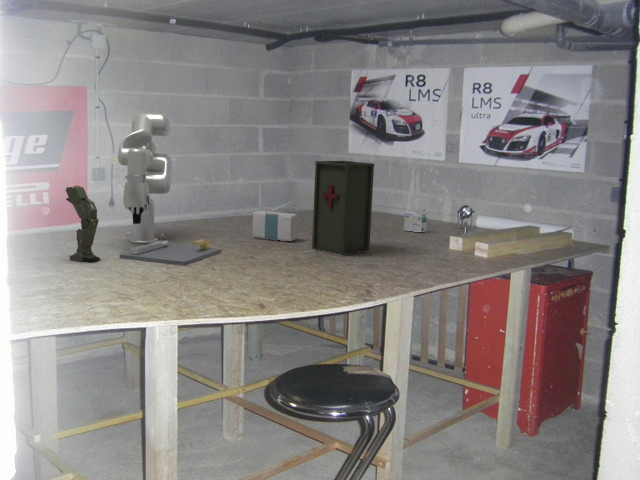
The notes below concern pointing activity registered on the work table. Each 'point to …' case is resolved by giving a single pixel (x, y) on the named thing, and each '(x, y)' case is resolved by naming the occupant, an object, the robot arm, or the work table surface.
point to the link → (150, 246)
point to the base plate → (173, 254)
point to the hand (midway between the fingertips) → (136, 223)
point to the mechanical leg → (84, 224)
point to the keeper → (203, 243)
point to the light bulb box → (415, 221)
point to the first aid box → (342, 206)
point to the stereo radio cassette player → (274, 225)
